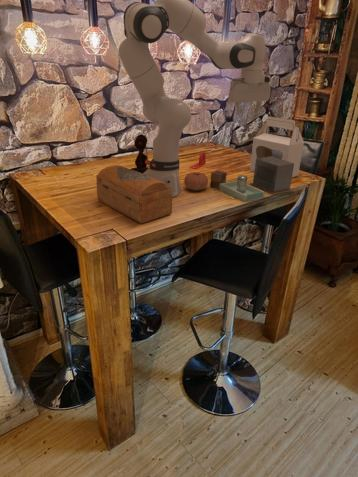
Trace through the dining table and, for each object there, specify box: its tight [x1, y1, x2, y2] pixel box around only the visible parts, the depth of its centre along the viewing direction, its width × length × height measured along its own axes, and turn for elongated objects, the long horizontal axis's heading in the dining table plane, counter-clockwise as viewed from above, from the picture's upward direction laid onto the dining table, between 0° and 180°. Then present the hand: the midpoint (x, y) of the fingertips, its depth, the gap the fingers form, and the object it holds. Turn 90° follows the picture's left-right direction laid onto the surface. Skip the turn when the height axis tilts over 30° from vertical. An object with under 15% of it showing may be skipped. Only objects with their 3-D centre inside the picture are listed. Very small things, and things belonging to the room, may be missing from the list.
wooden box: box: [96, 164, 173, 224], centre depth 138 cm, size 30×16×14 cm, turn 41°
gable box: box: [249, 116, 305, 178], centre depth 182 cm, size 22×13×28 cm, turn 41°
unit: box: [249, 155, 294, 196], centre depth 163 cm, size 12×16×13 cm
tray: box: [219, 180, 266, 203], centre depth 157 cm, size 11×18×3 cm, turn 30°
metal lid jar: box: [236, 174, 248, 193], centre depth 156 cm, size 4×4×7 cm
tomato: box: [183, 171, 209, 192], centre depth 160 cm, size 11×11×8 cm
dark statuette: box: [130, 134, 149, 174], centre depth 172 cm, size 15×15×20 cm
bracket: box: [189, 152, 207, 170], centre depth 193 cm, size 12×4×8 cm, turn 153°
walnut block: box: [210, 170, 227, 191], centre depth 163 cm, size 5×5×7 cm
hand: (247, 112), depth 154 cm, fingers open, 8 cm apart
